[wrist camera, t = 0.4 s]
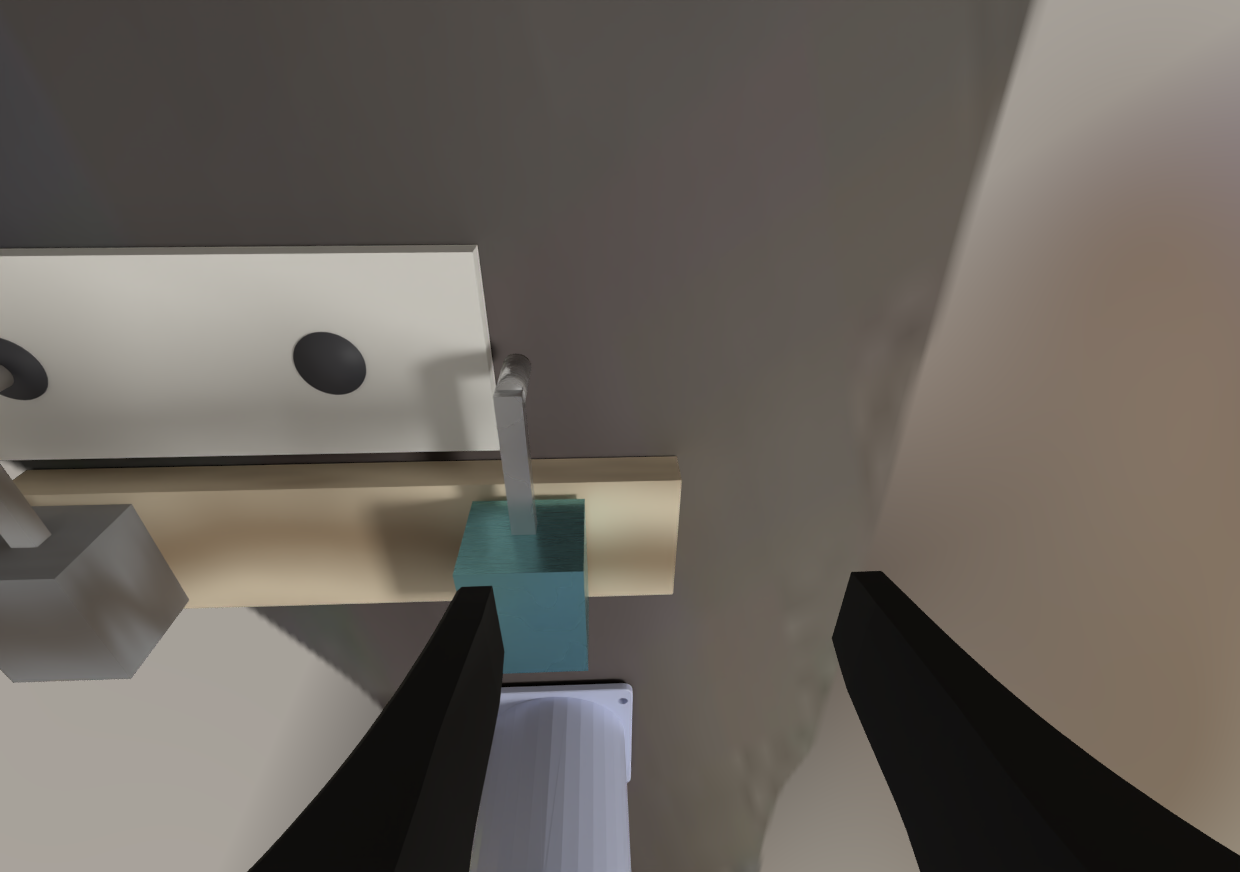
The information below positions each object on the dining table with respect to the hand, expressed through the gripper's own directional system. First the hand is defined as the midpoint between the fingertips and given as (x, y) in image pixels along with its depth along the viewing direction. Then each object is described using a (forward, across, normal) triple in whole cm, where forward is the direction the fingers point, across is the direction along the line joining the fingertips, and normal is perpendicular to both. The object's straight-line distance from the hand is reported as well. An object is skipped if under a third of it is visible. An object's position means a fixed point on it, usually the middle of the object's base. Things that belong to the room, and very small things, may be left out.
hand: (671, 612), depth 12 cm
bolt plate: (+10, +14, -2) cm, 17 cm away
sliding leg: (+9, +4, +3) cm, 10 cm away
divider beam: (+10, +10, +4) cm, 15 cm away
